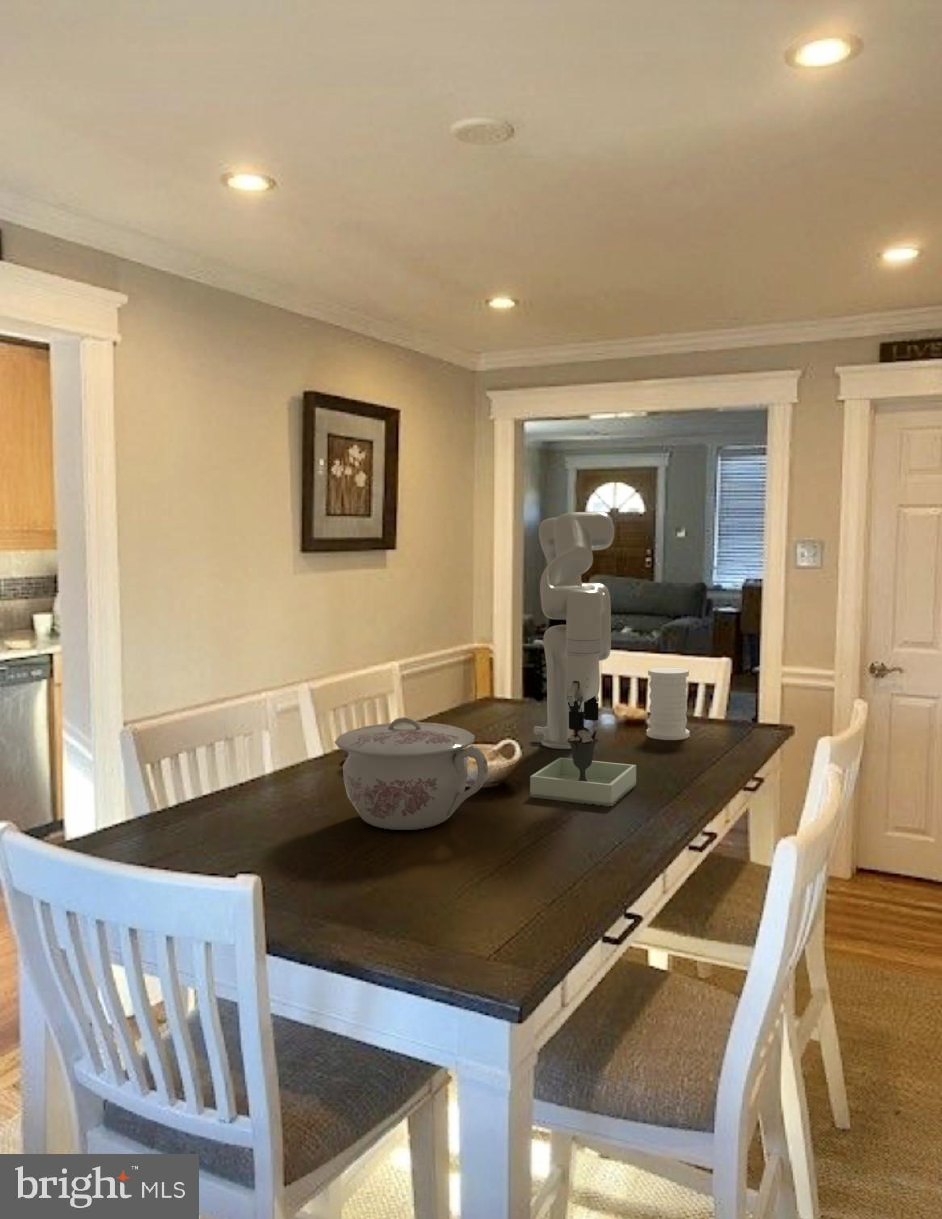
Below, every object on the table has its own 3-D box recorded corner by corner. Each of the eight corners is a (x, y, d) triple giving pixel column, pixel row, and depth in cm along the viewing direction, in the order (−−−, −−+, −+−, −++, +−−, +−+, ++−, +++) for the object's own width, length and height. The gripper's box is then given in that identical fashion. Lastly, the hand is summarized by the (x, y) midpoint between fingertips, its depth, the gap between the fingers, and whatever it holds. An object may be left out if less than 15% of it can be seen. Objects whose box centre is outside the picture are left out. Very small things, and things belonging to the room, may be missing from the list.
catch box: (530, 797, 205) (530, 776, 205) (559, 776, 222) (559, 757, 221) (611, 806, 198) (611, 785, 197) (636, 785, 214) (636, 765, 213)
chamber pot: (321, 811, 197) (318, 711, 196) (445, 794, 208) (444, 700, 206) (360, 853, 172) (358, 739, 170) (500, 832, 183) (499, 724, 181)
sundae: (561, 785, 211) (560, 718, 210) (578, 779, 216) (578, 713, 215) (586, 791, 207) (586, 722, 205) (603, 784, 212) (603, 717, 210)
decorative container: (657, 741, 256) (657, 674, 255) (639, 732, 267) (639, 668, 266) (697, 738, 259) (697, 672, 257) (678, 729, 270) (678, 666, 268)
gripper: (580, 640, 216) (580, 715, 218) (553, 651, 201) (553, 732, 203) (612, 642, 213) (612, 718, 215) (587, 653, 198) (587, 735, 199)
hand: (583, 724), depth 209 cm, fingers open, 9 cm apart
